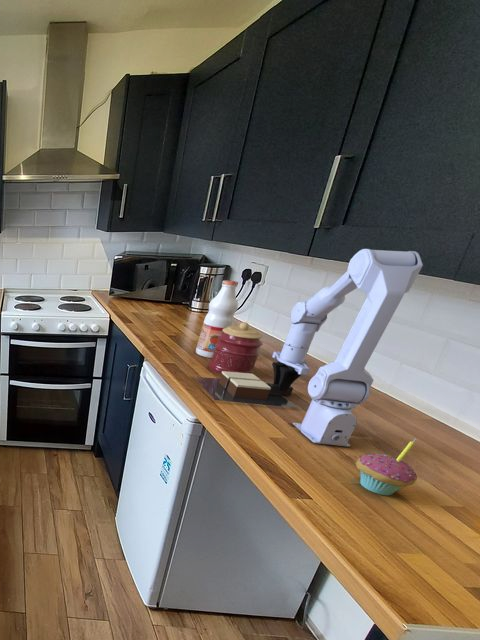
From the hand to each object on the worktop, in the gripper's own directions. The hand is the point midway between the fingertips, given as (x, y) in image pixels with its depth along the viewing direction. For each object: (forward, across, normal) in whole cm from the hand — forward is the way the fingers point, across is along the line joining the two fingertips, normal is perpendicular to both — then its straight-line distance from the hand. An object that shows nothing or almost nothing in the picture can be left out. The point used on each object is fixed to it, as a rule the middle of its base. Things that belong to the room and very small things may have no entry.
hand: (279, 388), depth 120 cm
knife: (+2, 0, +6) cm, 6 cm away
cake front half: (+2, -3, +10) cm, 11 cm away
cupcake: (+3, -45, +4) cm, 45 cm away
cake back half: (+2, +3, +10) cm, 11 cm away
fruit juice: (+3, +36, +6) cm, 37 cm away
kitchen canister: (+3, +18, +6) cm, 19 cm away
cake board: (+3, 0, +10) cm, 11 cm away
